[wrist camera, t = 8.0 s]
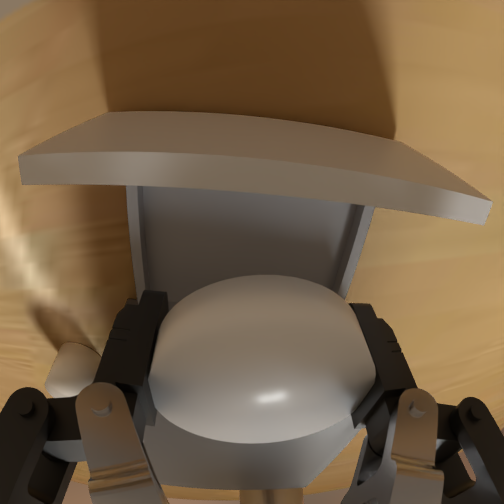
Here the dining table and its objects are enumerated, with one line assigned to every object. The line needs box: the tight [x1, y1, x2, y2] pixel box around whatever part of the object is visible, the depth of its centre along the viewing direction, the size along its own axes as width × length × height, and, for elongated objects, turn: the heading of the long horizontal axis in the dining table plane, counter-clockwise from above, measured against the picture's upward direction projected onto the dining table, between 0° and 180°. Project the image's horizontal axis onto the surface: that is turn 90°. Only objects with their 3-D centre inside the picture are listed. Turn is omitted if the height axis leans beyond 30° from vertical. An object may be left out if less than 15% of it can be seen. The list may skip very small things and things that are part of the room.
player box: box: [125, 299, 361, 490], centre depth 19 cm, size 14×13×7 cm
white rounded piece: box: [45, 342, 101, 398], centre depth 19 cm, size 4×4×4 cm
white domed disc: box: [148, 275, 376, 444], centre depth 8 cm, size 6×6×2 cm
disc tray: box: [18, 111, 493, 311], centre depth 13 cm, size 14×13×7 cm
